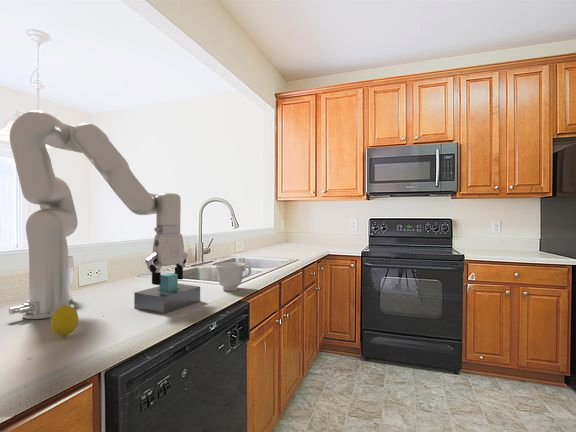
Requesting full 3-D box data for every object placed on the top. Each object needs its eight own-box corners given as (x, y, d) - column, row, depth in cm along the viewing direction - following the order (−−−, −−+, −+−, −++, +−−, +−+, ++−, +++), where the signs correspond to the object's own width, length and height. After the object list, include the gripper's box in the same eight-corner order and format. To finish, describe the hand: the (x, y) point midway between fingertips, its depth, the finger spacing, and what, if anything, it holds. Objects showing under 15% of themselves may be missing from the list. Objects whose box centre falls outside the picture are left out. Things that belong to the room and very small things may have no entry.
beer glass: (78, 298, 114) (78, 256, 114) (59, 303, 107) (59, 258, 107) (63, 296, 116) (63, 255, 115) (44, 302, 109) (43, 258, 109)
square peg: (168, 306, 104) (168, 276, 104) (159, 305, 106) (159, 275, 106) (177, 303, 108) (177, 274, 108) (168, 302, 110) (168, 273, 109)
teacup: (244, 294, 120) (244, 267, 120) (209, 291, 124) (209, 265, 124) (256, 287, 132) (256, 263, 132) (223, 284, 136) (223, 261, 136)
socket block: (163, 313, 97) (163, 297, 97) (134, 308, 102) (134, 292, 102) (200, 300, 111) (200, 286, 111) (172, 296, 117) (172, 282, 117)
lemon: (83, 332, 81) (83, 301, 81) (68, 341, 76) (68, 307, 76) (60, 333, 81) (60, 301, 81) (45, 341, 76) (44, 308, 76)
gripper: (155, 232, 97) (154, 288, 97) (195, 229, 113) (194, 278, 113) (138, 231, 100) (137, 285, 101) (179, 229, 116) (178, 276, 116)
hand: (167, 281), depth 107 cm, fingers open, 9 cm apart
